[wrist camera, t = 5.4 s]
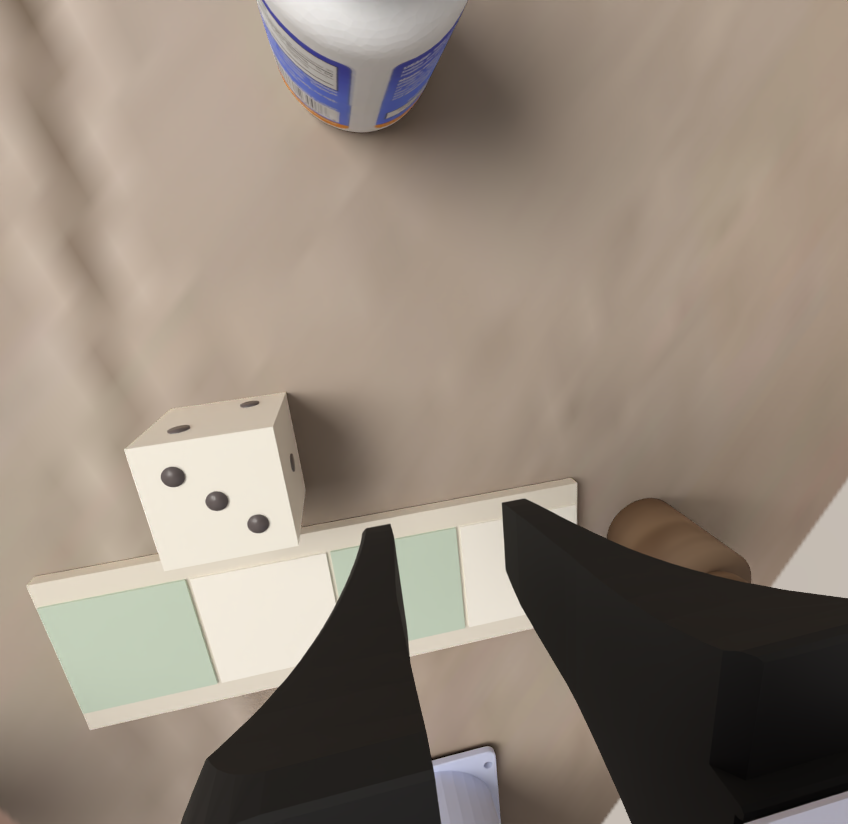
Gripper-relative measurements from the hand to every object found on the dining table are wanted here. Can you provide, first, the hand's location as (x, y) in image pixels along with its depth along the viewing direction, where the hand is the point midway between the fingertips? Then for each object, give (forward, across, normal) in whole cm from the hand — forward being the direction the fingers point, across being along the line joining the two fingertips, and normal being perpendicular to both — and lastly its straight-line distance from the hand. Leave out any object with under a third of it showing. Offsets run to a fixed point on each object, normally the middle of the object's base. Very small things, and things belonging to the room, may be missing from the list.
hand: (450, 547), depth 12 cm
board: (+9, +4, +8) cm, 13 cm away
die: (+10, +7, 0) cm, 12 cm away
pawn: (+9, -12, +8) cm, 17 cm away
